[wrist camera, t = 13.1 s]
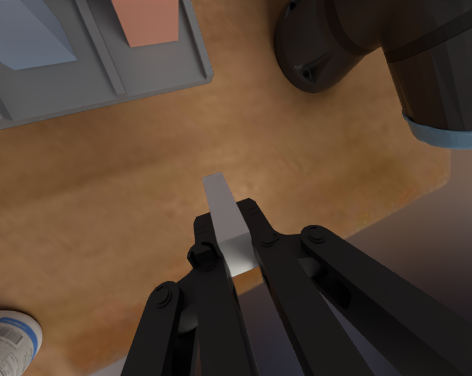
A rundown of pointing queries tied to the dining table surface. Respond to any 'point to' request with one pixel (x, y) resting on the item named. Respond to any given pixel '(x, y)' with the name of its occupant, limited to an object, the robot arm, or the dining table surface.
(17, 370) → the supplement tub
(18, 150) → the dining table surface
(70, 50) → the blue rectangular block
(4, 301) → the dining table surface
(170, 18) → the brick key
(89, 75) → the grey divided tray
